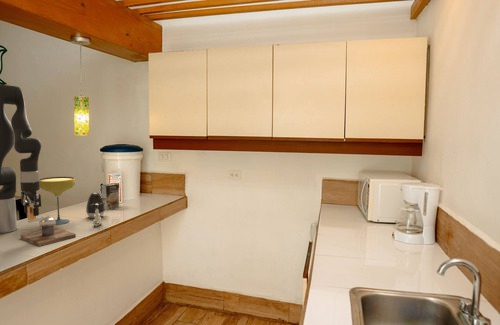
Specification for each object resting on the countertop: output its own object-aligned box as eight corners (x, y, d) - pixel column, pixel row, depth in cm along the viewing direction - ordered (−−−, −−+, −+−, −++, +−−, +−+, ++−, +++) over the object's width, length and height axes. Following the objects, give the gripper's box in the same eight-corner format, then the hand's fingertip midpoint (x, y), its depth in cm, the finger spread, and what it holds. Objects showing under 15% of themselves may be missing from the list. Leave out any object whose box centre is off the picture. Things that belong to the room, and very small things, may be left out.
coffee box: (107, 210, 229) (106, 185, 227) (101, 208, 232) (100, 184, 231) (119, 207, 236) (118, 184, 234) (114, 206, 240) (113, 183, 238)
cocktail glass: (51, 217, 208) (49, 176, 205) (82, 218, 208) (80, 176, 206) (33, 226, 190) (30, 181, 187) (66, 227, 190) (64, 181, 188)
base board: (20, 238, 171) (19, 226, 170) (55, 230, 185) (55, 218, 184) (39, 246, 160) (38, 233, 159) (75, 236, 174) (75, 225, 173)
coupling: (25, 227, 166) (24, 205, 165) (51, 222, 176) (50, 201, 175) (32, 230, 163) (31, 208, 162) (58, 224, 172) (57, 203, 171)
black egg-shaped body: (89, 220, 204) (88, 194, 203) (84, 216, 212) (83, 192, 210) (107, 217, 211) (106, 192, 209) (101, 214, 219) (100, 190, 217)
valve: (90, 226, 191) (89, 205, 190) (92, 223, 197) (91, 202, 196) (103, 226, 193) (102, 204, 192) (104, 222, 199) (104, 202, 198)
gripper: (14, 180, 164) (16, 213, 166) (28, 183, 156) (30, 218, 158) (31, 178, 170) (33, 210, 172) (45, 181, 163) (47, 215, 164)
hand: (31, 214), depth 165 cm, fingers open, 8 cm apart
